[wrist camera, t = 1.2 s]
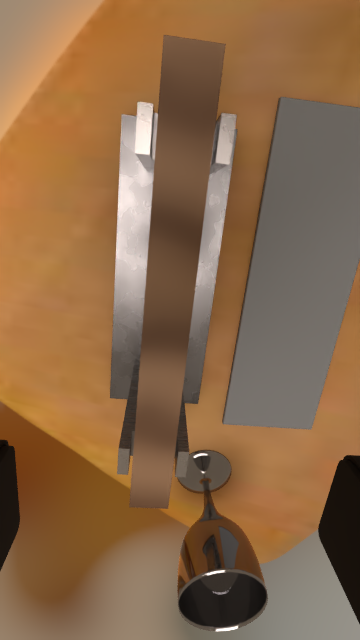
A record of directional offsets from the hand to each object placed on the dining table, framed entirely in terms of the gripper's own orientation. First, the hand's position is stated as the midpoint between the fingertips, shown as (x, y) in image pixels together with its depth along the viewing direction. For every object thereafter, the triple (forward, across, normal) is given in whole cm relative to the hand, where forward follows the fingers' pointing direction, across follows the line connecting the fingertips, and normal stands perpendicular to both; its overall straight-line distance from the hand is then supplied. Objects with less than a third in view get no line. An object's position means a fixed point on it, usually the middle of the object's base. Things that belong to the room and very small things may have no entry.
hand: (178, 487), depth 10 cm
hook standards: (+27, 0, 0) cm, 27 cm away
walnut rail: (+15, 0, 0) cm, 15 cm away
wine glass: (+27, -7, +25) cm, 37 cm away
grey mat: (+27, -14, 0) cm, 30 cm away
